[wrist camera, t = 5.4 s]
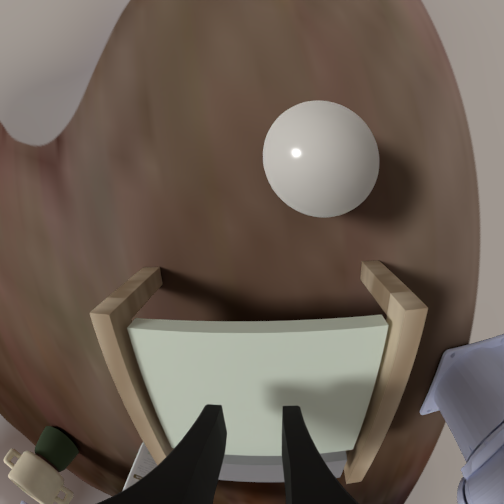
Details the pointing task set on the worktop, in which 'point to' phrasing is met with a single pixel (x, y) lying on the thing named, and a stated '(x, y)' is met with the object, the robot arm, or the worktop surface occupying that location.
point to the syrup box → (140, 466)
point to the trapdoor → (262, 383)
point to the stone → (321, 158)
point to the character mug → (44, 467)
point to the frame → (383, 396)
